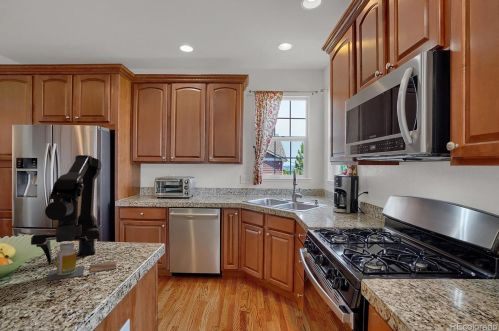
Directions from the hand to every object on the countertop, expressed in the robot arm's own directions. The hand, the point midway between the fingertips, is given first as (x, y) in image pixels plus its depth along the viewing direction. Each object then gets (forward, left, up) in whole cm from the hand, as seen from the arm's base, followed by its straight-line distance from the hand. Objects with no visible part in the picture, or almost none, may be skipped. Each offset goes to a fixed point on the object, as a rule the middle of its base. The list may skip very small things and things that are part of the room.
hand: (66, 261), depth 92 cm
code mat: (0, 0, -4) cm, 4 cm away
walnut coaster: (-1, +11, -4) cm, 12 cm away
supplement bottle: (0, 0, -4) cm, 4 cm away
